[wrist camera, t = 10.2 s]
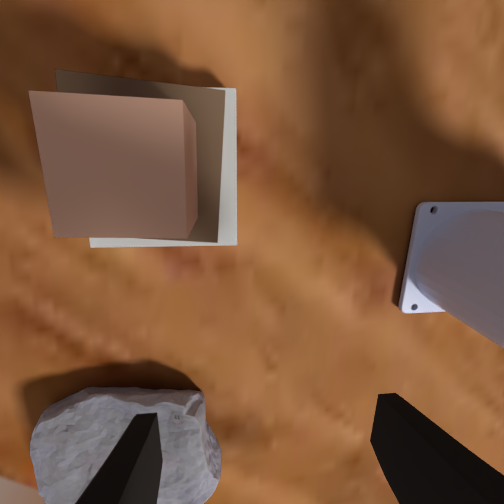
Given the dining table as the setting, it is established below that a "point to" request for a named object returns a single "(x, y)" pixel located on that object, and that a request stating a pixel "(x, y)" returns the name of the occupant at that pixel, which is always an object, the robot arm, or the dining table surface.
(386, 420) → the robot arm
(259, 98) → the dining table surface
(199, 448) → the stone block
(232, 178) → the grey base block
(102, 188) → the terracotta cube
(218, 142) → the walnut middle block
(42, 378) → the dining table surface
